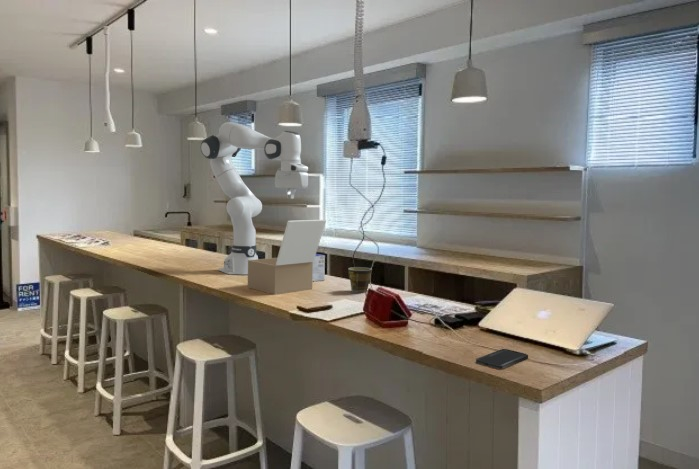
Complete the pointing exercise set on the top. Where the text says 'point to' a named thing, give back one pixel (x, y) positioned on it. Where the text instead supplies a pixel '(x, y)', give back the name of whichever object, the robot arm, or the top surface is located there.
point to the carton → (279, 276)
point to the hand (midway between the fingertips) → (290, 198)
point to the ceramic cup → (359, 279)
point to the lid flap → (300, 241)
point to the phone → (502, 358)
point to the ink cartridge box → (318, 268)
